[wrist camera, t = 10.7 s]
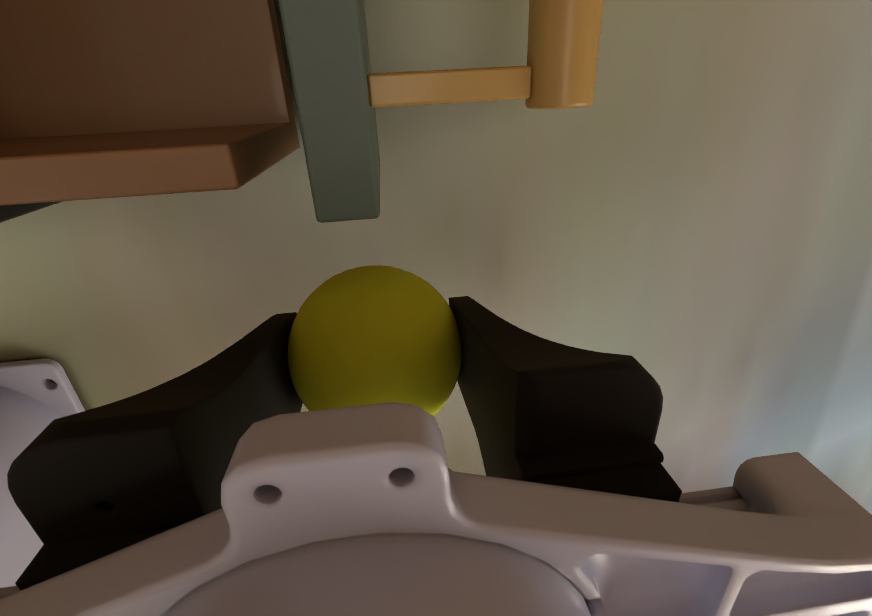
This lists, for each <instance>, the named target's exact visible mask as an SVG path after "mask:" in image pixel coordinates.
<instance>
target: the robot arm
mask: <svg viewBox="0 0 872 616" xmlns="http://www.w3.org/2000/svg"><path fill="white" fill-rule="evenodd" d="M449 307H450V308H451V310H452V312H453V314H454V316H455V320H456V323H457V327H458V331H459V337H460V344H461V367H460V372H459V376H458V379H457V381H458V384H459V387H460V390H461V393H462V395H463V398H464V401H465V404H466V406H467V409H468V412H469V415H470V417H471V420H472V423H473V426H474V428H475V432H476V435H477V438H478V442H479V446H480V450H481V455H482V459H483V463H484V467H485V472H486V476H483V475H475V474H468V473H461V472H454V471H452V470H451V469H449V468H448V465H447V460H446V455H445V449H444V444H443V438H442V434H441V431H440V429H439V427H438V424H437V422H436V419H435V417H434V416H433V415H431V414H429V413H428V412H426V411H425V410H423V409H422V408H420V407H418V406H417V405H414V404H404V403H394V402H387V403H378V404H369V405H360V406H351V407H343V408H334V409H325V410H316V411H307V412H300V410H301V407H302V403H303V402H302V400H301V399H300V397H299V396H298V394H297V392H296V390H295V388H294V385H293V382H292V379H291V376H290V371H289V365H288V341H289V335H290V331H291V328H292V325H293V322H294V319H295V317H296V315H297V313H296V312H294V313H283V314H276V315H274V316H272V317H270V318H269V319H268V320H266V321H265V322H263V323H262V324H261V325H259V326H258V327H257V328H255V329H254V330H253V331H251V332H250V333H249V334H247V335H246V336H244V337H243V338H242V339H240V340H239V341H238V342H236V343H235V344H233V345H232V346H230V347H229V348H227V349H226V350H224V351H223V352H221V353H220V354H218V355H217V356H215V357H214V358H212V359H210V360H209V361H207V362H205V363H203V364H202V365H200V366H198V367H196V368H194V369H192V370H191V371H189V372H187V373H185V374H183V375H181V376H179V377H176V378H174V379H172V380H170V381H167V382H165V383H163V384H161V385H159V386H156V387H154V388H152V389H149V390H147V391H144V392H142V393H139V394H136V395H134V396H131V397H128V398H125V399H122V400H119V401H116V402H114V403H110V404H107V405H104V406H101V407H97V408H94V409H90V410H87V411H85V409H84V407H83V406H82V404H81V402H80V400H79V398H78V396H77V394H76V392H75V390H74V388H73V386H72V384H71V383H70V381H69V379H68V377H67V375H66V373H65V371H64V369H63V367H62V366H61V365H60V364H59V363H58V362H56V361H54V360H51V359H34V360H24V361H14V362H3V363H0V616H872V515H871V514H870V513H869V512H868V511H866V510H865V509H864V508H863V507H862V506H861V505H859V504H858V503H857V502H856V501H855V500H853V499H852V498H851V497H850V496H849V495H848V494H846V493H845V492H844V491H843V490H842V489H841V488H839V487H838V486H837V485H836V484H835V483H834V482H832V481H831V480H830V479H829V478H828V477H827V476H825V475H824V474H823V473H822V472H821V471H820V470H818V469H817V468H816V467H815V466H814V465H813V464H811V463H810V462H809V461H808V460H807V459H806V458H804V457H803V456H802V455H801V454H800V453H797V452H792V453H785V454H777V455H770V456H762V457H755V458H752V459H748V460H746V461H745V462H744V463H742V464H741V465H740V466H739V468H738V469H737V471H736V474H735V478H734V483H733V486H731V487H724V488H717V489H710V490H703V491H695V492H688V493H682V491H681V489H680V488H679V487H678V485H677V484H676V483H675V481H674V480H673V479H672V478H671V476H670V475H669V474H668V472H667V471H666V470H665V468H664V467H663V466H662V464H661V462H663V459H664V457H663V453H662V452H661V451H660V450H659V448H658V447H657V446H656V445H655V443H654V442H655V438H656V434H657V429H658V425H659V421H660V416H661V412H662V404H663V396H662V392H661V389H660V386H659V385H658V383H657V382H656V381H655V379H654V378H653V377H652V376H651V375H650V374H649V373H648V372H647V371H646V370H645V369H644V368H643V366H642V365H641V364H640V363H639V362H638V361H637V360H636V359H635V358H634V357H632V356H629V355H620V354H610V353H601V352H594V351H589V350H584V349H579V348H574V347H570V346H566V345H563V344H559V343H556V342H553V341H549V340H546V339H544V338H541V337H538V336H536V335H533V334H531V333H529V332H526V331H524V330H522V329H520V328H518V327H516V326H514V325H512V324H510V323H509V322H507V321H505V320H503V319H502V318H500V317H498V316H497V315H495V314H494V313H492V312H491V311H489V310H488V309H486V308H485V307H483V306H482V305H480V304H479V303H478V302H476V301H475V300H473V299H472V298H470V297H469V296H463V297H453V298H449ZM49 379H51V380H53V381H54V382H55V383H56V384H55V383H53V382H51V381H50V380H49Z"/></svg>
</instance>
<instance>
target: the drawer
mask: <svg viewBox="0 0 872 616" xmlns="http://www.w3.org/2000/svg"><path fill="white" fill-rule="evenodd" d="M278 2H279V8H280V14H281V19H282V25H283V31H284V36H285V42H286V48H287V54H288V59H289V65H290V71H291V77H292V82H293V88H294V94H295V100H296V105H297V111H298V117H299V123H300V128H301V134H302V140H303V145H304V151H305V157H306V163H307V168H308V174H309V180H310V186H311V191H312V197H313V203H314V209H315V214H316V219H317V221H318V222H321V223H323V222H335V221H348V220H361V219H374V218H377V217H379V214H380V157H379V147H378V137H377V127H376V117H375V108H374V107H392V106H409V105H427V104H445V103H462V102H480V101H498V100H515V99H526V102H525V104H526V107H527V108H530V109H557V108H576V107H586V106H589V105H592V103H593V99H594V90H595V80H596V70H597V61H598V51H599V41H600V31H601V22H602V12H603V2H604V0H530V1H529V26H528V51H527V66H512V67H492V68H472V69H452V70H432V71H412V72H393V73H373V74H371V68H370V58H369V48H368V39H367V29H366V19H365V9H364V0H278ZM299 147H300V145H299V140H298V134H297V128H296V123H295V117H294V111H293V106H292V100H291V95H290V89H289V83H288V78H287V72H286V67H285V61H284V55H283V50H282V44H281V38H280V33H279V27H278V22H277V16H276V10H275V5H274V0H0V205H15V204H29V203H43V202H57V201H72V200H86V199H100V198H115V197H129V196H143V195H158V194H172V193H186V192H201V191H215V190H229V189H238V188H240V187H241V186H243V185H244V184H245V183H247V182H248V181H250V180H251V179H253V178H254V177H256V176H257V175H259V174H260V173H262V172H263V171H265V170H266V169H268V168H269V167H271V166H272V165H274V164H275V163H277V162H278V161H280V160H281V159H283V158H284V157H286V156H287V155H289V154H290V153H292V152H293V151H295V150H296V149H298V148H299Z"/></svg>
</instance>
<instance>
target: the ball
mask: <svg viewBox="0 0 872 616" xmlns="http://www.w3.org/2000/svg"><path fill="white" fill-rule="evenodd" d="M288 365H289V371H290V376H291V379H292V382H293V385H294V388H295V390H296V392H297V394H298V396H299V397H300V399H301V400H302V402H303V403H304V405H305V406H306V408H307V409H308V410H309V411H316V410H325V409H334V408H343V407H351V406H360V405H369V404H378V403H387V402H394V403H404V404H414V405H417V406H418V407H420V408H422V409H423V410H425V411H426V412H428V413H429V414H431V415H433V416H434V415H435V414H436V413H437V412H438V411H439V410H440V409H441V408H442V407H443V405H444V404H445V402H446V401H447V400H448V398H449V396H450V395H451V393H452V391H453V389H454V387H455V384H456V382H457V379H458V376H459V372H460V367H461V344H460V337H459V331H458V327H457V323H456V320H455V316H454V314H453V312H452V310H451V308H450V307H449V305H448V303H447V302H446V300H445V299H444V298H443V297H442V296H441V294H440V293H439V292H438V291H437V290H436V289H435V288H434V287H432V286H431V285H430V284H429V283H428V282H426V281H425V280H423V279H422V278H420V277H418V276H416V275H414V274H412V273H410V272H407V271H404V270H402V269H398V268H394V267H390V266H379V265H378V266H364V267H357V268H354V269H350V270H347V271H344V272H342V273H340V274H337V275H335V276H333V277H332V278H330V279H328V280H327V281H325V282H324V283H323V284H321V285H320V286H319V287H318V288H317V289H316V290H315V291H314V292H313V293H312V294H311V295H310V296H309V297H308V298H307V299H306V301H305V302H304V303H303V305H302V306H301V308H300V310H299V312H298V314H297V315H296V317H295V319H294V322H293V325H292V328H291V331H290V335H289V341H288Z"/></svg>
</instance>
